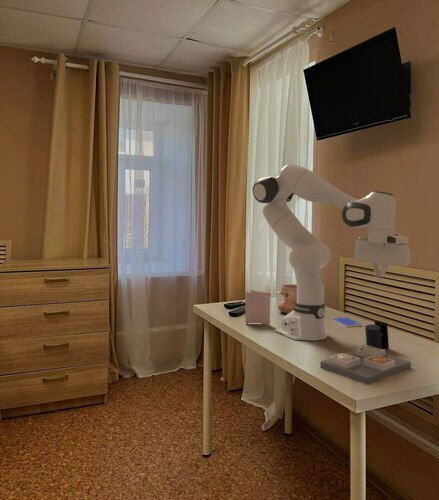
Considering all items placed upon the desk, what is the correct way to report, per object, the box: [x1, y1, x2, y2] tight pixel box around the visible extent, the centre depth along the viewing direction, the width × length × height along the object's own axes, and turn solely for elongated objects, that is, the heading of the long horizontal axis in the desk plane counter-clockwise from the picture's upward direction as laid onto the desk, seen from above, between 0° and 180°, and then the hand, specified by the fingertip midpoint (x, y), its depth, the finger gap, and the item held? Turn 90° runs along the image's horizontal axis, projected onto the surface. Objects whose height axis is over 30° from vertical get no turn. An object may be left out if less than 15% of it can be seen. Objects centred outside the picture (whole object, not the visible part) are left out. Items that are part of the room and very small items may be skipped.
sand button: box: [336, 353, 353, 362], centre depth 139 cm, size 5×5×2 cm
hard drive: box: [332, 317, 363, 328], centre depth 199 cm, size 2×8×12 cm
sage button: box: [362, 345, 378, 353], centre depth 148 cm, size 5×5×2 cm
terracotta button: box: [371, 356, 388, 364], centre depth 137 cm, size 5×5×2 cm
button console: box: [319, 344, 412, 386], centre depth 141 cm, size 18×24×4 cm
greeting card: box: [244, 290, 271, 325], centre depth 197 cm, size 11×7×15 cm, turn 47°
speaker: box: [364, 320, 390, 350], centre depth 162 cm, size 8×6×10 cm
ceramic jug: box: [276, 283, 297, 315], centre depth 220 cm, size 18×14×14 cm
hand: (379, 276), depth 150 cm, fingers closed
